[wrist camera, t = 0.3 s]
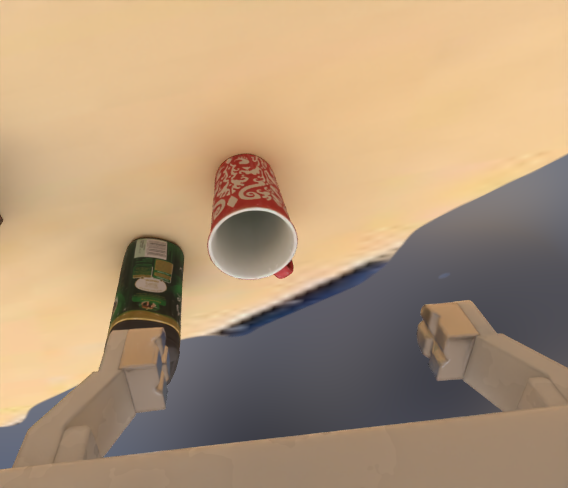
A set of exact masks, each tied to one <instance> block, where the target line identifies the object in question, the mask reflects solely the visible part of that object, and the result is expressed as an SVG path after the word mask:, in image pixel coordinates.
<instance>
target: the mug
mask: <svg viewBox="0 0 568 488" xmlns="http://www.w3.org/2000/svg"><path fill="white" fill-rule="evenodd" d="M297 242H298V238H297V233H296V230H295V227H294V225H293V224H292V222H291V221H290V218H289V216H288V213H287V210H286V207H285V204H284V202H283V199H282V196H281V193H280V190H279V188H278V185H277V182H276V178H275V176H274V173H273V171H272V169H271V167H270V166H269V164H268V163H267V162H266V161H264V160H263V159H262V158H260V157H258V156H255V155H251V154H240V155H236V156H233V157H231V158H229V159H227V160H226V161H224V162H223V163H222V164H221V166H220V167H219V169H218V171H217V173H216V177H215V190H214V200H213V212H212V223H211V232H210V235H209V238H208V244H207V248H208V253H209V256H210V259H211V260H212V262H213V264H214V265H215V266H216V267H217V268H218V269H219V270H221V271H222V272H223V273H225V274H227V275H229V276H231V277H234V278H238V279H245V280H255V279H261V278H265V277H268V276H271V275H273V274H274V275H275V276H276V277H277V278H279V279H282V278H285V277H287V276H288V275H290V274H291V273H292V272H293V262H292V258H293V256H294V254H295V252H296V249H297Z"/></svg>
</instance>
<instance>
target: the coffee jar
mask: <svg viewBox="0 0 568 488" xmlns="http://www.w3.org/2000/svg"><path fill="white" fill-rule="evenodd" d="M183 266H184V255H183V252H182V250H181V249H180V248H179V247H178V246H177V245H175V244H173V243H171V242H168V241H165V240H161V239H156V238H141V239H137V240H135V241H133V242H132V243H131V244H130V245H129V246H128V248H127V250H126V253H125V256H124V260H123V264H122V268H121V273H120V278H119V283H118V288H117V293H116V297H115V302H114V307H113V312H112V316H111V321H110V326H109V331H108V335H107V340H106V344H107V341H108V338H109V334H110V333H111V332H112V331H113V330H130V329H140V328H156V327H163V328H164V329H165V334H166V342H165V345H166V346H167V347H168V349H169V355H170V375H169V379H168V380H167V382H166V385H168V384H169V383H170V381H171V379H172V377H173V375H174V373H175V370H176V367H177V363H178V359H179V354H180V351H179V348H180V336H181V335H180V330H181V302H182V281H183ZM106 344H105V347H106ZM104 351H105V349H104Z"/></svg>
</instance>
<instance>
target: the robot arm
mask: <svg viewBox="0 0 568 488" xmlns="http://www.w3.org/2000/svg"><path fill="white" fill-rule="evenodd" d="M421 316H422V318H423V321H422V322H421V323H420V324H419V325H418V329H417V341H418V345H419V347H420V350H421V352H422V354H424V355H425V356H427V357H428V358H430V359H429V364H428V365H429V367H430V368H431V371H432V372H433V374H434V376H435V378H436V380H437V381H441V380H454V379H463V381H465V382H466V383H468V384H469V385H470V386H471V387H472V388H474V389H475V390H476V391H478V392H479V393H480V394H482V395H483V396H484V397H485V398H486V399H488V400H489V401H490V402H492V403H493V404H494V405H495V406H497V407H498V408H499V409H501V410H502V411H503V412H499V413H490V414H482V415H473V416H465V417H456V418H447V419H438V420H430V421H421V422H412V423H403V424H394V425H386V426H378V427H377V426H376V427H368V428H360V429H350V430H341V431H333V432H324V433H316V434H307V435H298V436H289V437H281V438H272V439H263V440H254V441H246V442H237V443H228V444H219V445H210V446H202V447H193V448H184V449H176V450H167V451H158V452H150V453H141V454H132V455H123V456H115V457H106V458H103V457H104V455H105V454H106V453H107V452H108V451H109V449H110V448H111V447H112V445H113V444H114V443H115V441H116V440H117V439H118V437H119V436H120V435H121V434H122V432H123V431H124V430H125V428H126V427H127V426H128V424H129V423H130V422H131V420H132V419H133V418H134V417H135V415H136V414H135V413H140V412H148V411H156V410H163V409H165V408H166V400H167V392H168V390H167V385H166V382H167V380H168V379H169V375H170V355H169V349H168V347H167V346H166V345H165V342H166V334H165V329H164V328H163V327H156V328H140V329H130V330H113V331H112V332H111V333H110V334H109V338H108V341H107V344H106V347H105V351H104V354H103V357H102V361H101V364H100V367H99V371H98V372H93V373H91V374H90V375H89V376H88V377H87V378H86V379H85V380H84V381H82V382H81V383H80V384H79V385H78V386H77V387H76V388H75V389H73V390H72V391H71V392H70V393H69V394H68V395H67V396H66V397H64V398H63V399H62V400H61V401H60V402H59V403H58V404H57V405H55V406H54V407H53V408H52V409H51V410H50V411H49V412H48V413H46V414H45V415H44V416H43V417H42V418H41V419H40V420H38V421H37V422H36V423H35V424H34V425H33V426H32V427H31V428H29V429H28V431H27V433H26V436H25V438H24V441H23V443H22V445H21V448H20V450H19V453H18V455H17V457H16V460H15V462H14V464H13V467H12V468H9V469H1V470H0V488H568V368H567V367H565V366H563V365H561V364H559V363H557V362H555V361H553V360H551V359H549V358H547V357H546V356H544V355H542V354H540V353H538V352H536V351H534V350H532V349H530V348H528V347H526V346H525V345H523V344H520V343H519V342H516V341H515V340H513V339H511V338H509V337H507V336H505V335H503V334H497V333H496V332H495V330H494V329H493V328H492V327H491V325H490V324H489V323H488V321H487V320H486V319H485V318H484V316H483V315H482V314H481V312H480V311H479V310H478V309H477V307H476V306H475V305H474V304H473V302H471V301H470V300H466V301H457V302H450V303H438V304H427V305H424V306H423V307H422V309H421Z"/></svg>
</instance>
